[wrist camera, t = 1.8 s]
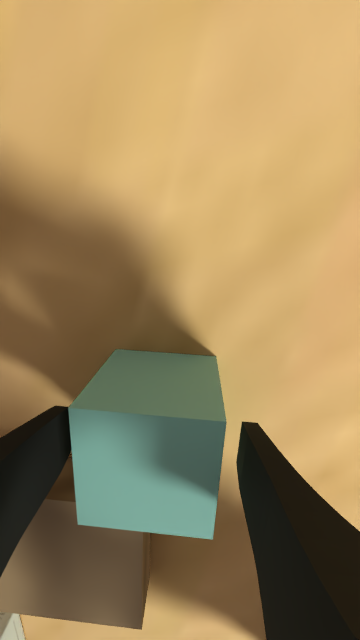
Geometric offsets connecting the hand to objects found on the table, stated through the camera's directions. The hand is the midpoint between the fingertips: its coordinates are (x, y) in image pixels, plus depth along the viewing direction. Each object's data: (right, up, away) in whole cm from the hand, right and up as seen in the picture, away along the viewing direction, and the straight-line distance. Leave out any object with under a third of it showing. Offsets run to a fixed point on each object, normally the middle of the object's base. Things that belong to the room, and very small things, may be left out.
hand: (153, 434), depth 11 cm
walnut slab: (-5, -7, +6) cm, 11 cm away
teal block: (0, +1, +3) cm, 3 cm away
